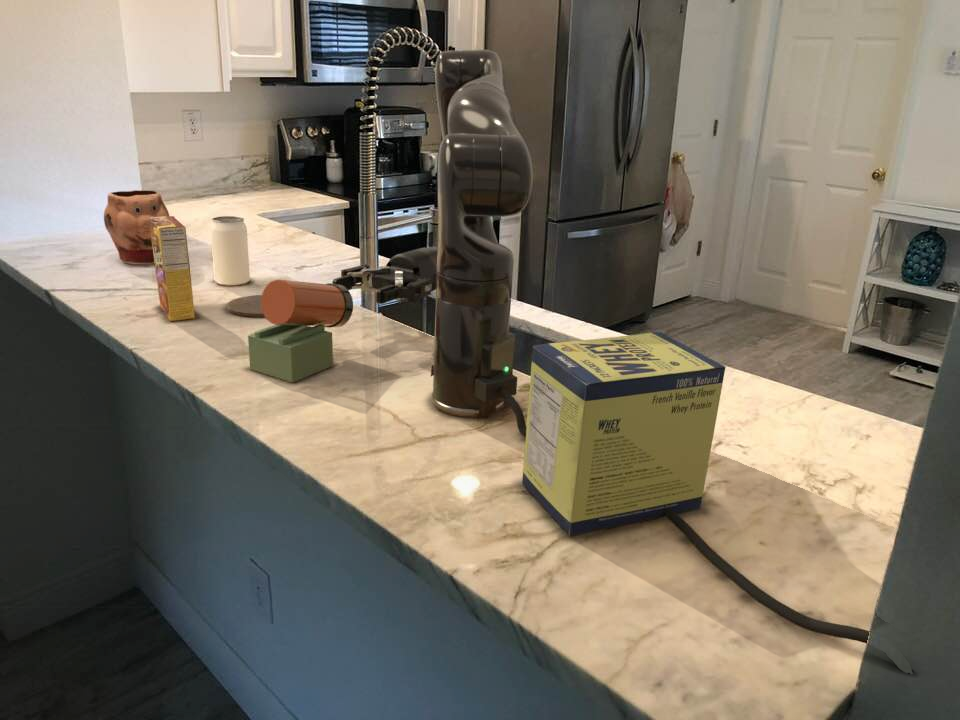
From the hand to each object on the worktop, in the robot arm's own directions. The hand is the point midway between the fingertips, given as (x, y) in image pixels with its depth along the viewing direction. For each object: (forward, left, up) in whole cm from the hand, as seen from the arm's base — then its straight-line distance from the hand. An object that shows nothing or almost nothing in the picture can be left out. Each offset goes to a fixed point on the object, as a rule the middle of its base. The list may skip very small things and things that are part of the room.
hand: (355, 291), depth 114 cm
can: (+40, -11, -8) cm, 42 cm away
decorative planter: (+67, -11, -8) cm, 69 cm away
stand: (0, +14, -8) cm, 16 cm away
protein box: (-50, +20, -8) cm, 54 cm away
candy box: (+32, +8, -8) cm, 34 cm away
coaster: (+24, -3, -8) cm, 26 cm away
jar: (0, +10, 0) cm, 10 cm away
